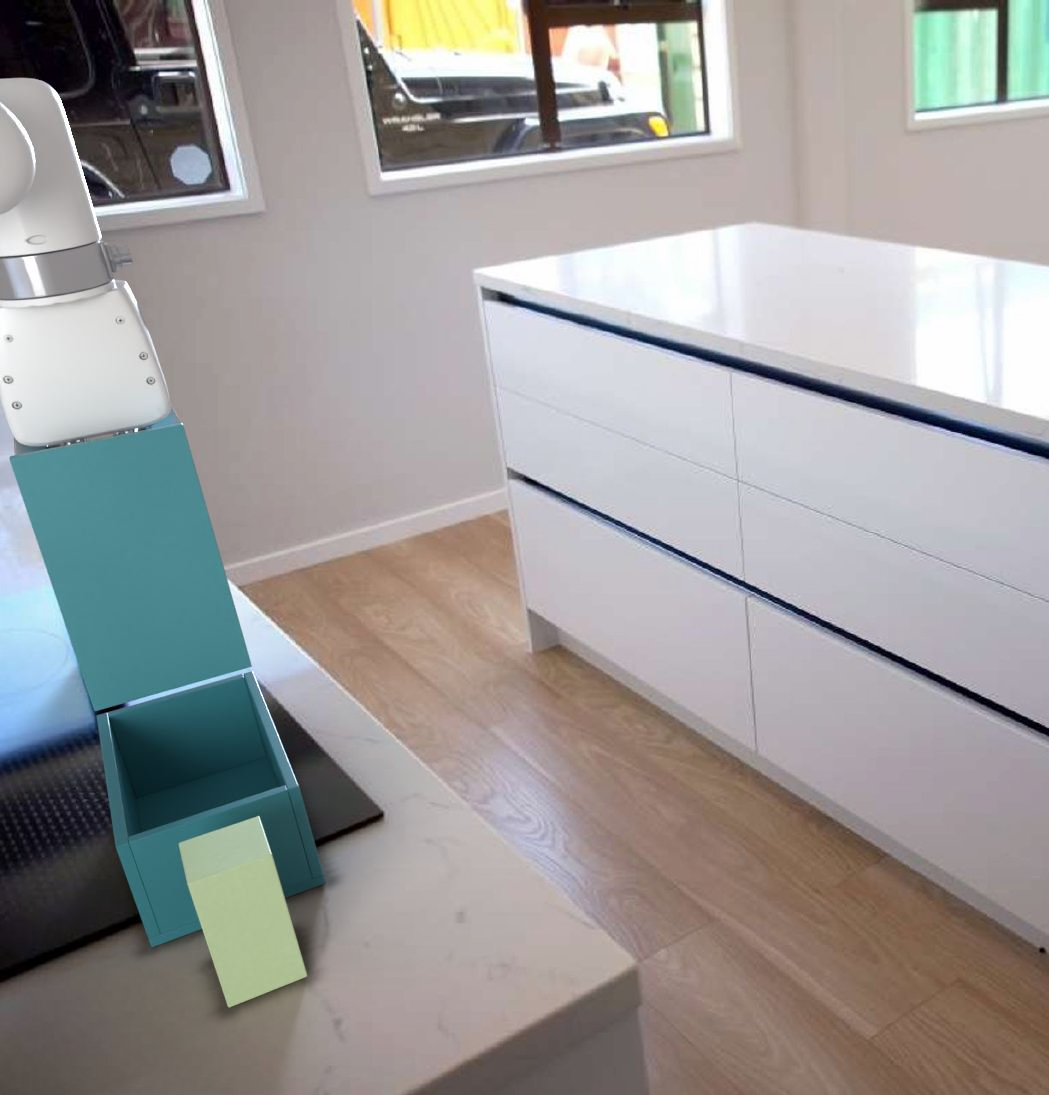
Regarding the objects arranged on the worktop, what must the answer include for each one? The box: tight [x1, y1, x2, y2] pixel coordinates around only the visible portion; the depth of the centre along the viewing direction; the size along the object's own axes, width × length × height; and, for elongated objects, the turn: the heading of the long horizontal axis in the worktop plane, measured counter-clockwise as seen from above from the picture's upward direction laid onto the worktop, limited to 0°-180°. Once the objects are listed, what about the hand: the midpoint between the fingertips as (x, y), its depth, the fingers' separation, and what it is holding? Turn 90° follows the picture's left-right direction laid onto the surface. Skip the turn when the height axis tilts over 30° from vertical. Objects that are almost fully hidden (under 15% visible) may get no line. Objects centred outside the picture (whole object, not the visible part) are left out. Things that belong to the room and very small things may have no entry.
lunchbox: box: [96, 670, 326, 948], centre depth 85 cm, size 18×10×8 cm, turn 31°
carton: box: [179, 816, 308, 1008], centre depth 73 cm, size 4×4×9 cm
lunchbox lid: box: [8, 422, 253, 712], centre depth 88 cm, size 18×10×5 cm
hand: (126, 521), depth 92 cm, fingers closed
